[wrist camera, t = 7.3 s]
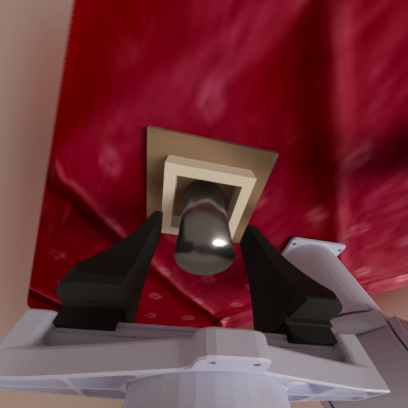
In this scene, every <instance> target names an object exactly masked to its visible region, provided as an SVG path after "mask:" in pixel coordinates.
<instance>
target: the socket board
mask: <svg viewBox="0 0 408 408" xmlns="http://www.w3.org/2000/svg"><path fill="white" fill-rule="evenodd" d="M278 155H279V154H278V153H277V152H275V151H270V150H265V149H260V148H256V147H251V146H246V145H241V144H236V143H232V142H227V141H222V140H217V139H212V138H207V137H203V136H198V135H193V134H188V133H183V132H179V131H174V130H169V129H164V128H159V127H154V126H148V127H147V219H148V218H149V217H150V215H151V214H152V213H153V212H154V211H161V212H163V219H162V231H161V233H167V234H175V235H178V233H179V227H180V221H181V215H182V210H183V204H184V198H185V192H186V189H187V188H188V186H189V185H190V184H191V183H193V182H194V181H197V180H206V181H211V182H215V183H216V184H217V185H218V186H219V187H220V188H221V191H222V195H223V200H224V205H225V209H226V214H227V219H228V224H229V229H230V234H231V238H232V242H234V243H239V242H240V240H241V238H242V235H243V233H244V231H245V229H246V227H247V224H248V222H249V220H250V218H251V215H252V213H253V211H254V209H255V206H256V204H257V202H258V200H259V198H260V195H261V193H262V191H263V189H264V186H265V184H266V182H267V180H268V178H269V175H270V173H271V171H272V169H273V166H274V164H275V162H276V160H277V158H278Z"/></svg>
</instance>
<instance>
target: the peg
mask: <svg viewBox="0 0 408 408" xmlns="http://www.w3.org/2000/svg"><path fill="white" fill-rule="evenodd" d="M234 257H235V253H234V248H233V243H232V238H231V234H230V229H229V224H228V219H227V214H226V209H225V205H224V200H223V195H222V191H221V188H220V187H219V186H218V185H217V184H216V183H215V182H211V181H206V180H197V181H194V182H193V183H191V184H190V185H189V186H188V188H187V189H186V192H185V198H184V204H183V210H182V215H181V221H180V227H179V233H178V238H177V244H176V250H175V260H176V263H177V264H178V265H179V267H181V268H182V269H183V270H185V271H187V272H189V273H192V274H196V275H212V274H217V273H220V272H222V271H224V270H226V269H227V268H228V267H229V266H230V265H231V264H232V263H233V261H234Z"/></svg>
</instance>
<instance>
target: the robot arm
mask: <svg viewBox="0 0 408 408" xmlns="http://www.w3.org/2000/svg"><path fill="white" fill-rule="evenodd" d="M162 219H163V212H161V211H154V212H153V213H152V214H151V215H150V217H149V218H148V219H147V220H146V221H145V222H144V223H143V224H141V225H140V226H139V227H138V228H137V229H136V230H135V231H133V232H132V233H131V234H130V235H128V236H127V237H126V238H124V239H123V240H121V241H120V242H118V243H117V244H115V245H113V246H112V247H110V248H108V249H106V250H105V251H103V252H101V253H99V254H97V255H95V256H93V257H90V258H88V259H86V260H83V261H81V262H79V263H76V264H75V265H74V266H73V267H72V268H71V269H70V270H69V271H68V273H67V274H66V275H65V276H64V278H63V279H62V280H61V282H60V283H59V284H58V286H57V287H56V293H57V296H58V298H59V299H60V301H61V303H62V305H63V307H62V308H61V310H60V311H59V313H58V312H56V311H54V310H45V309H32V308H30V309H27V311H26V312H25V313H24V314H23V315H22V317H21V318H20V319H19V320H18V322H17V323H16V324H15V325H14V326H13V328H12V329H11V330H10V331H9V333H8V334H7V335H6V336H5V338H4V339H3V340H2V341H1V342H0V391H4V392H6V391H7V392H30V393H49V394H62V395H74V396H86V397H98V398H111V399H123V400H124V403H123V406H122V408H291V407H290V403H289V402H297V401H320V402H321V404H322V406H323V407H324V408H408V321H405V320H403V319H400V318H399V317H396V316H394V317H391V318H389V317H388V316H386V315H385V314H384V313H383V312H382V311H381V310H380V309H379V307H378V306H377V305H376V304H375V302H374V301H373V300H372V299H371V298H370V296H369V295H368V294H367V293H366V292H365V290H364V289H363V288H362V287H361V286H360V284H359V283H358V282H357V281H356V280H355V278H354V277H353V276H352V275H351V274H350V272H349V271H348V270H347V269H346V268H345V266H344V265H343V264H342V263H341V262H340V260H339V259H338V258H337V256H338V255H339V254H340V253H341V252H342V251H343V250H344V249H345V247H346V246H345V245H344V244H341V243H334V242H327V241H321V240H314V239H307V238H300V237H293V238H292V239H291V240H290V241H289V243H288V244H287V246H286V247H285V249H284V250H283V252H282V253H281V254H280V253H279V252H278V251H277V250H276V249H275V248H274V247H273V246H272V245H271V244H270V242H269V241H268V240H267V239H266V238H265V237H264V236H263V235H262V233H261V232H260V231H259V230H258V229H257V228H256V227H255V226H254V225H247V227H246V229H245V231H244V234H243V236H242V238H241V240H240V245H241V253H242V257H243V261H244V265H245V268H246V272H247V276H248V281H249V287H250V293H251V301H252V310H253V321H254V330H251V329H238V328H225V327H205V328H191V327H177V326H164V325H150V324H137V323H134V322H135V318H136V314H137V310H138V306H139V302H140V298H141V294H142V290H143V287H144V283H145V279H146V276H147V272H148V269H149V266H150V263H151V261H152V258H153V255H154V253H155V250H156V248H157V245H158V242H159V239H160V235H161V231H162Z"/></svg>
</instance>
